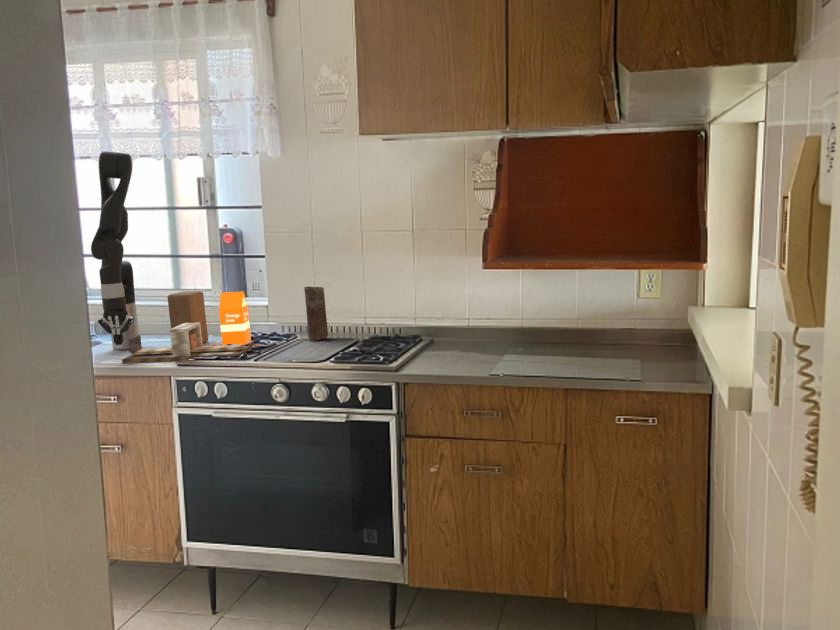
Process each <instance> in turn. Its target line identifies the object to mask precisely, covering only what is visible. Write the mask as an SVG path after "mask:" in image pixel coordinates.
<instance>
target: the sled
mask: <svg viewBox="0 0 840 630" xmlns="http://www.w3.org/2000/svg"><path fill="white" fill-rule="evenodd" d="M188 334H189V343H190V352H206V351H228V350H241V349H242V348H244V344H239V345H222V344H221V345H203V346H197V340H196V333H188ZM141 337H142V336H141V334H139V335H136V336H134V337H131V338H129V339H128V340H129V348H130V349H129V354H130V355H143V354H164V353H172V347H161V348H143V345H142V340H141V339H142V338H141Z"/></svg>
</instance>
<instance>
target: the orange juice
mask: <svg viewBox="0 0 840 630" xmlns="http://www.w3.org/2000/svg"><path fill="white" fill-rule="evenodd" d="M219 294H220V295H219V306H218V313H219V314H218V315H219V316H218V317H219V324H220V325H219V326H220V335H221V343H222V344H221V345H227V344H247V343H248V342H249V341H251V342H252V339H251V337H252V336H251V328H250V327H251V325H250V316H249V307H248V306H249V305H248V302H247V299H246V296H245V293H244V291H229V292H220V293H219Z"/></svg>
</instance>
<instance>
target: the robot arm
mask: <svg viewBox="0 0 840 630" xmlns="http://www.w3.org/2000/svg"><path fill="white" fill-rule="evenodd" d="M98 156H99V157H98V175H99V176H98V177H99V187H100V214H99V215H100V217H99V222H98V223H99V224H98V225H99V226H98V228H97V230H96V232H95V235H94V237H93V238H92V241H91V244H90V252H91V254H92V257H93V258H94V259H96V260H101V265H100V266H101V267H100V269H99V280H100V293H101V302H102V309H103V315H102V317H101V318H100V319H98V320H97V323H98V324H99V325H100V326H101V327H102V328H103V329H104V330H105V332H106V334H107V333H108V334H110V336H111V343H112V345H111V346H112V350H122V351H123V350H130V348H129V340H128V339H129V338H131V337H134V336H136V335H140V330H139V329H140V328H139V321H138V312H137V306H136V294H135V283H134V269H133V266H132V264H131V262H130V261H129V260H123V258H124V249H125V248H124V245H123V243H122V242H123V240H124V239H125V237H126V235H127V234H128V230H129V213H128V211H127V208H126V207H125V201H126V198H127V194H128V191H129V188H130V187H129V186H130V182H131V179H132V174H133V166H134V165H133V158H132V156H131V155H130V154H129V153H126V152H116V151H109V150H107V151H101V152H100V153H99V155H98ZM111 179H117V180H119V182H118V185H117V187H116V189H115V190H114V186H113V183H112V180H111Z"/></svg>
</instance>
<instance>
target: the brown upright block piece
mask: <svg viewBox="0 0 840 630" xmlns="http://www.w3.org/2000/svg"><path fill="white" fill-rule="evenodd" d="M303 288H304V289H303V291H304V299H305V311H306V324H307V325H306V326H307V336H308V340H309V342H315V341H319V340H324V339H327V338H328V336H329V330H328V318H327V310H326V297H325V288H324V287H323V286H304V287H303Z"/></svg>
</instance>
